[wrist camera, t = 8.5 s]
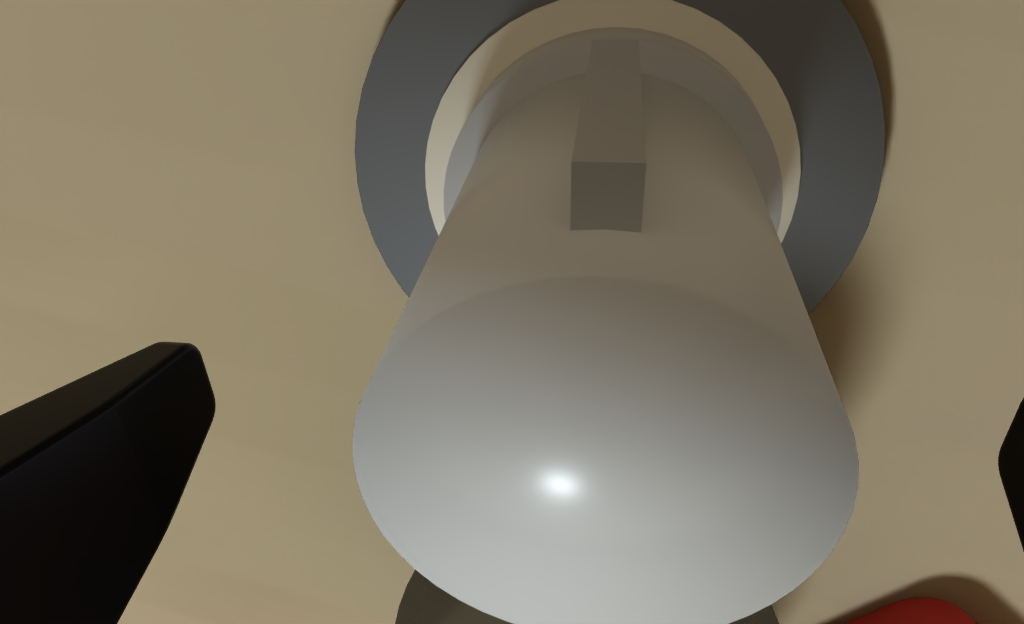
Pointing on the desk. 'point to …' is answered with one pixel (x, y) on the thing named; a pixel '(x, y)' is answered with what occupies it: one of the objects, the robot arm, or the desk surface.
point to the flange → (650, 6)
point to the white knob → (609, 356)
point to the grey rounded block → (446, 620)
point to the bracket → (917, 613)
